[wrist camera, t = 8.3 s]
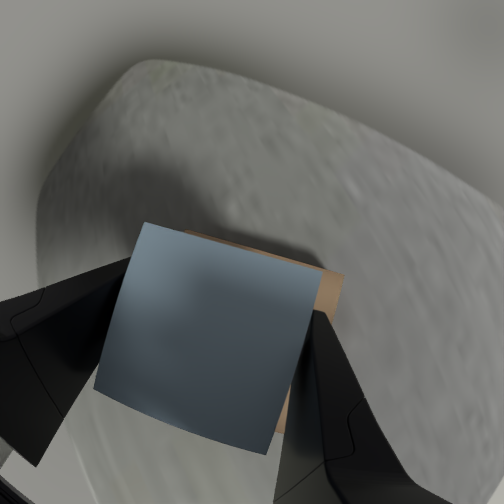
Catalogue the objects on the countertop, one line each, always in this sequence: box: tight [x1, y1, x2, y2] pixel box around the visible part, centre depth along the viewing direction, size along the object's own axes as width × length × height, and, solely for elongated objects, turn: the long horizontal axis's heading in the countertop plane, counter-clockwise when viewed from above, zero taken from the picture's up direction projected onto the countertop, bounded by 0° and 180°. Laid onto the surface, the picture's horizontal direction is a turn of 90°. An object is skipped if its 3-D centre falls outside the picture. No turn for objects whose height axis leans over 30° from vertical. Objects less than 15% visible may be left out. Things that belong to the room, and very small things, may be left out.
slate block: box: [93, 222, 323, 455], centre depth 12 cm, size 5×5×9 cm
